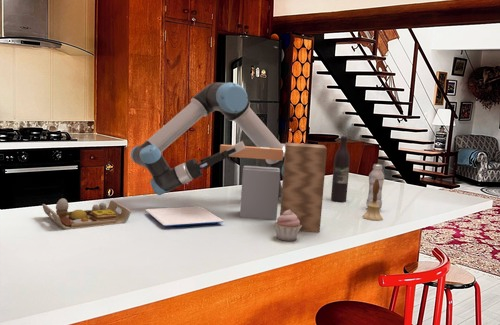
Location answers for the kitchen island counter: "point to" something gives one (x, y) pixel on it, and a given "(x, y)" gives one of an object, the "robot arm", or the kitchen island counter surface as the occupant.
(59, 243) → the kitchen island counter surface
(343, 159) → the wine bottle
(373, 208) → the hand bell
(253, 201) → the grey rectangular block
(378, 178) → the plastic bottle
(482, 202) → the kitchen island counter surface
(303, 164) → the tall wooden block
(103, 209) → the toy food set
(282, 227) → the cupcake
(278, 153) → the bar
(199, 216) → the plate
